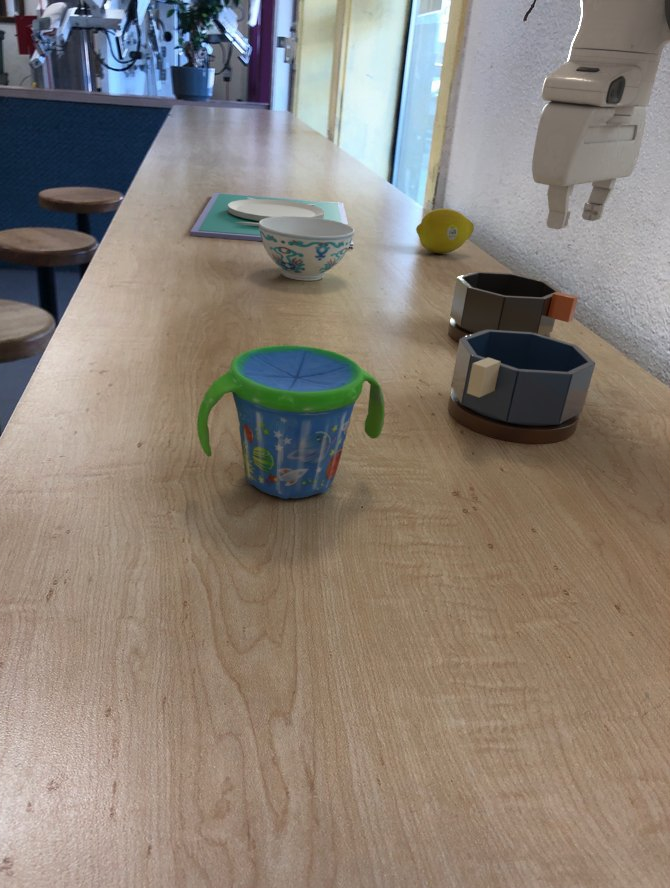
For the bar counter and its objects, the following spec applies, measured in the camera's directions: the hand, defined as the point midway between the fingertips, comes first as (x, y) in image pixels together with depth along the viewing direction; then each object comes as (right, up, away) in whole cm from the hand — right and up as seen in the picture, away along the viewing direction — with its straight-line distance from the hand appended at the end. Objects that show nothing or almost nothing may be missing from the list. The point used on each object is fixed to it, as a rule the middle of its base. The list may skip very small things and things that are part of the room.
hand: (574, 223), depth 88 cm
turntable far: (-4, -9, +18) cm, 20 cm away
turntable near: (-9, -22, -6) cm, 24 cm away
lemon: (-4, +16, +62) cm, 64 cm away
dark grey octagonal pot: (-3, -8, +16) cm, 18 cm away
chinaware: (-30, +5, +39) cm, 50 cm away
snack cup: (-32, -29, -21) cm, 48 cm away
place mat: (-35, +28, +78) cm, 91 cm away
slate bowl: (-10, -21, -7) cm, 24 cm away
